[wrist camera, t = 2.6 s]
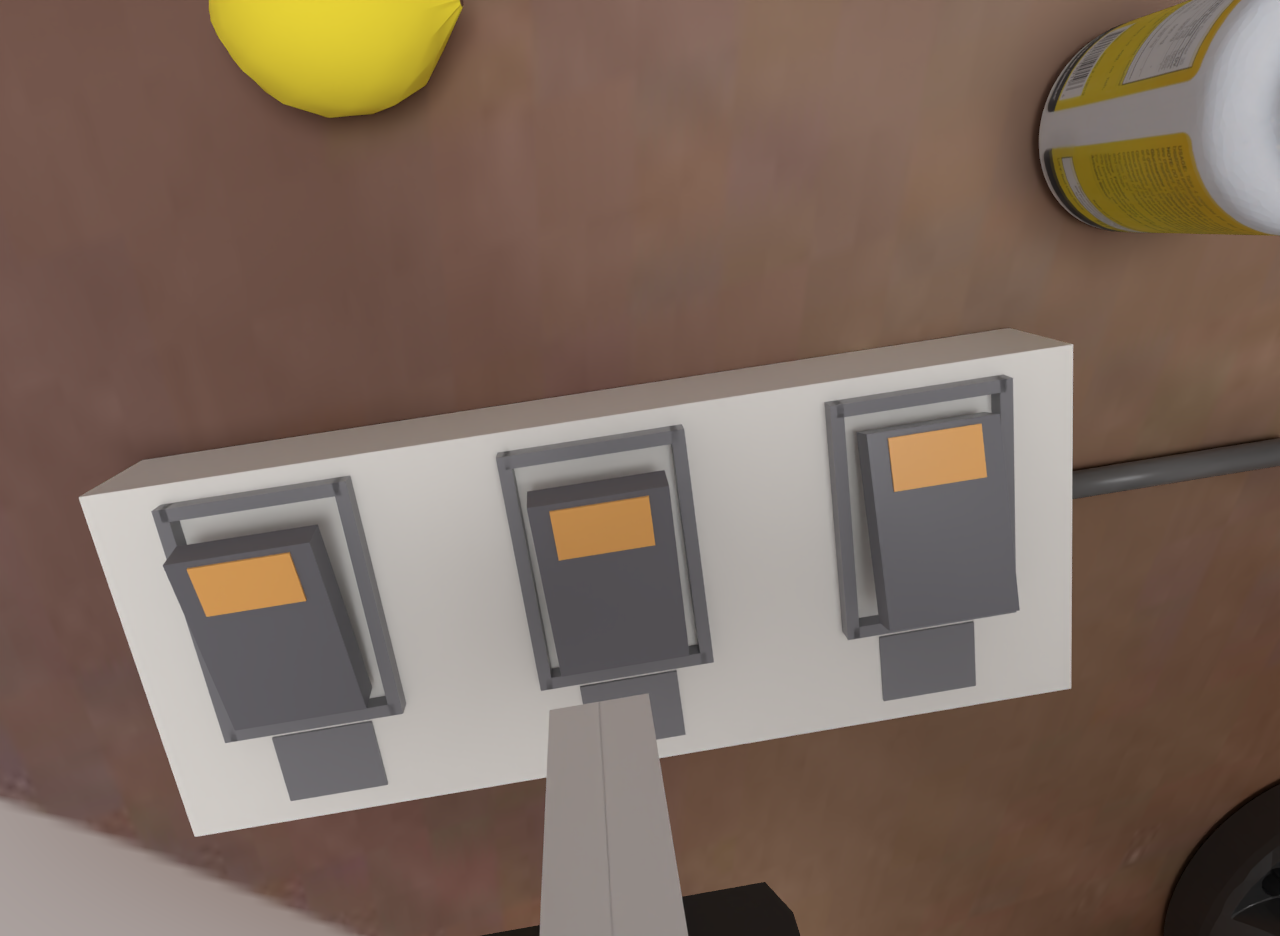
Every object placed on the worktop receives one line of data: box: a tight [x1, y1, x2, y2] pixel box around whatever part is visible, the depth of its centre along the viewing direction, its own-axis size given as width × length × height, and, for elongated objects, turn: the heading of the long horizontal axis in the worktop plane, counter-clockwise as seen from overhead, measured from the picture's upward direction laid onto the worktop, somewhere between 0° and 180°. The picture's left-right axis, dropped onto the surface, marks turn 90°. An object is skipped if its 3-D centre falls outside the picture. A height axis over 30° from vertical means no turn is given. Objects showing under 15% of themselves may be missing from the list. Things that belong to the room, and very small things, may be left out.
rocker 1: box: [163, 524, 372, 731], centre depth 26 cm, size 6×4×1 cm, turn 8°
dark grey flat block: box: [527, 470, 690, 677], centre depth 26 cm, size 6×4×1 cm, turn 8°
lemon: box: [209, 0, 463, 118], centre depth 24 cm, size 7×5×5 cm
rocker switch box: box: [79, 328, 1280, 837], centre depth 30 cm, size 12×40×5 cm, turn 98°
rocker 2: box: [856, 412, 1020, 632], centre depth 26 cm, size 6×4×1 cm, turn 8°
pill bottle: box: [1039, 0, 1280, 236], centre depth 23 cm, size 6×6×12 cm
